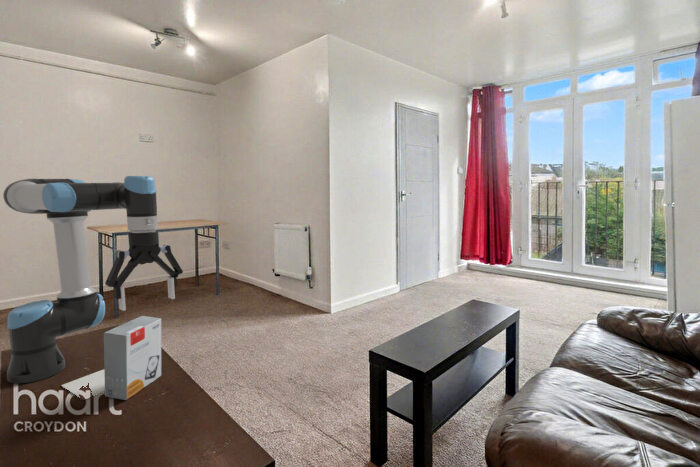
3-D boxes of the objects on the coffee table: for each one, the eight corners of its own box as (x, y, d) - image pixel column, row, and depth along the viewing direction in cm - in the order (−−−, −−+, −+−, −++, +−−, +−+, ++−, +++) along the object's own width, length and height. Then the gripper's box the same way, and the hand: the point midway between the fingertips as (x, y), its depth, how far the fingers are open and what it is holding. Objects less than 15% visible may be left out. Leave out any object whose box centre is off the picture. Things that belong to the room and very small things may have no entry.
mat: (61, 386, 118) (61, 385, 118) (112, 367, 131) (112, 366, 131) (83, 401, 110) (83, 399, 110) (135, 378, 123) (135, 377, 123)
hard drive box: (126, 401, 110) (124, 336, 107) (103, 397, 111) (101, 332, 109) (162, 375, 125) (161, 317, 122) (142, 371, 126) (141, 314, 124)
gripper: (97, 237, 95) (104, 318, 98) (192, 228, 114) (195, 296, 117) (87, 234, 100) (94, 311, 102) (180, 226, 119) (183, 291, 122)
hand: (148, 303), depth 110 cm, fingers open, 13 cm apart
